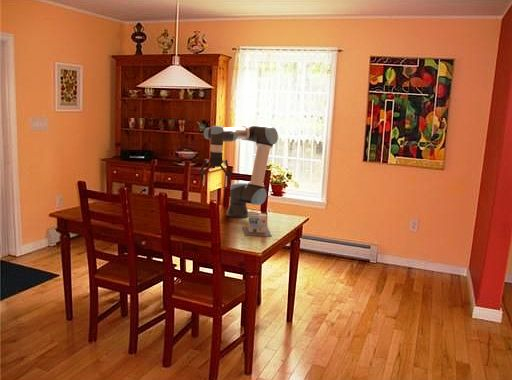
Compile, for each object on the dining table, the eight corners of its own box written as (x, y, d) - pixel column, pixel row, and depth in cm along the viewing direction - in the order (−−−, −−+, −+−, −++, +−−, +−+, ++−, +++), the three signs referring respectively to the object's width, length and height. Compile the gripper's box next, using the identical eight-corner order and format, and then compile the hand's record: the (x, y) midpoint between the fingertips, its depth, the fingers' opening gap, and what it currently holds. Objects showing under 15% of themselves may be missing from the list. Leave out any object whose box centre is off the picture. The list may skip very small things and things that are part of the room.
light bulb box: (248, 232, 291) (249, 215, 290) (247, 229, 298) (248, 212, 296) (266, 233, 293) (267, 215, 291) (264, 230, 299) (265, 213, 297)
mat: (242, 227, 305) (242, 226, 305) (267, 228, 306) (267, 227, 306) (245, 235, 285) (245, 235, 285) (271, 236, 287) (271, 235, 287)
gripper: (195, 151, 284) (194, 186, 288) (237, 153, 287) (235, 188, 291) (195, 150, 292) (194, 184, 295) (236, 152, 294) (234, 185, 298)
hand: (214, 186), depth 293 cm, fingers open, 13 cm apart
